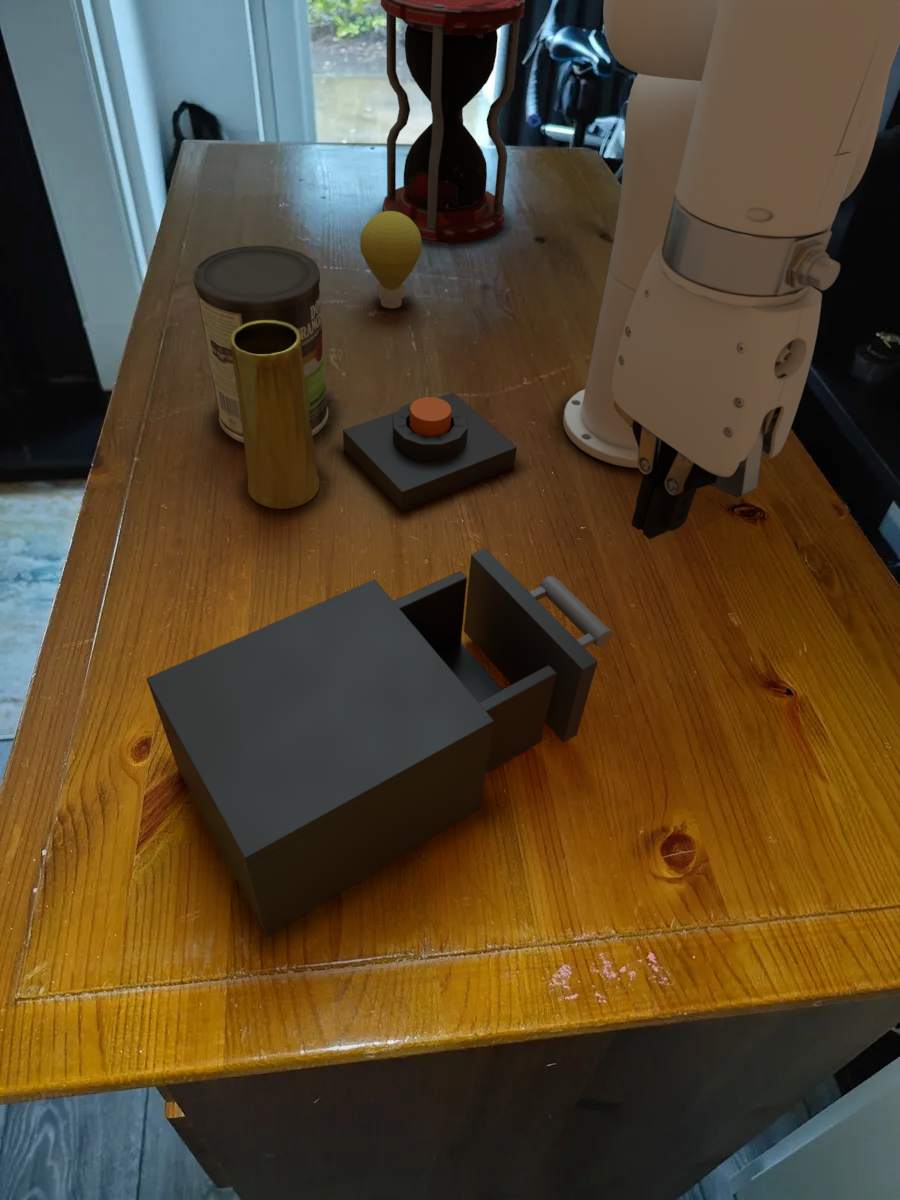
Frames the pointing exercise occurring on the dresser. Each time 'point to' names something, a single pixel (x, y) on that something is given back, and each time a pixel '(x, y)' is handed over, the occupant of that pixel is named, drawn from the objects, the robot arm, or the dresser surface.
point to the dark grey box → (323, 748)
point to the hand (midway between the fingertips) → (656, 525)
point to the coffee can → (260, 318)
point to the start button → (430, 416)
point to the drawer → (512, 650)
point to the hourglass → (450, 115)
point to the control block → (428, 454)
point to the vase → (274, 414)
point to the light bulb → (391, 253)
